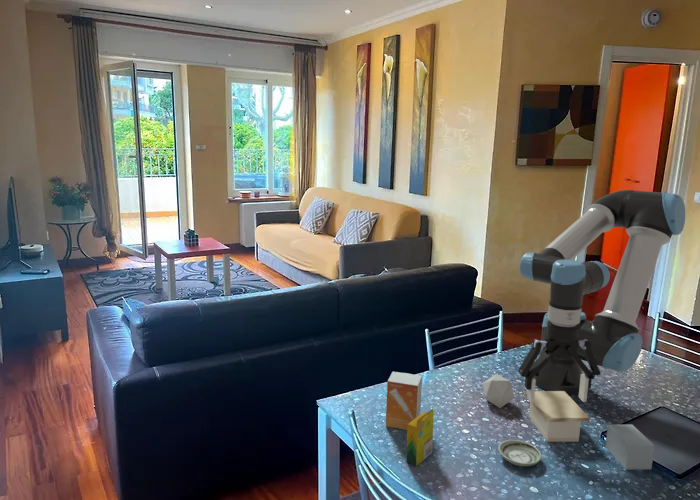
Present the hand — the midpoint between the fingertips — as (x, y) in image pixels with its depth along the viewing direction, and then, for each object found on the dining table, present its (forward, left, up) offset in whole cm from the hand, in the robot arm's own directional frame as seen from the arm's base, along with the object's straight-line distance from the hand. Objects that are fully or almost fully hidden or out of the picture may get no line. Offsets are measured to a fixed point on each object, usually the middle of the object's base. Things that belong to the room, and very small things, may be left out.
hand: (556, 400), depth 133 cm
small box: (-29, -26, -8) cm, 40 cm away
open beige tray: (0, 0, -8) cm, 8 cm away
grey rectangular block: (+18, 0, -8) cm, 20 cm away
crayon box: (-17, -35, -8) cm, 40 cm away
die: (-17, +2, -8) cm, 19 cm away
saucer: (0, -19, -8) cm, 21 cm away
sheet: (0, 0, -2) cm, 2 cm away
